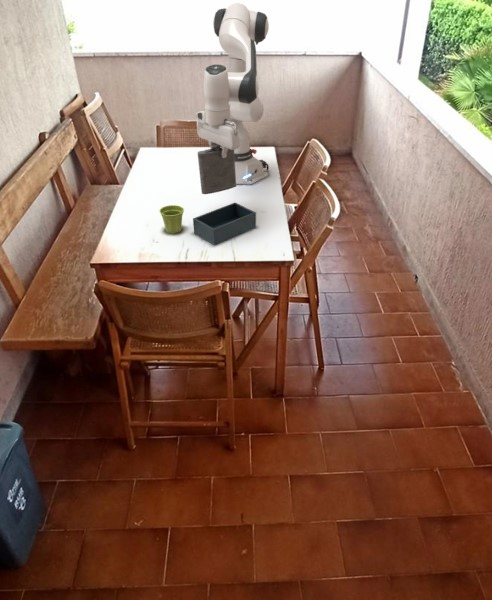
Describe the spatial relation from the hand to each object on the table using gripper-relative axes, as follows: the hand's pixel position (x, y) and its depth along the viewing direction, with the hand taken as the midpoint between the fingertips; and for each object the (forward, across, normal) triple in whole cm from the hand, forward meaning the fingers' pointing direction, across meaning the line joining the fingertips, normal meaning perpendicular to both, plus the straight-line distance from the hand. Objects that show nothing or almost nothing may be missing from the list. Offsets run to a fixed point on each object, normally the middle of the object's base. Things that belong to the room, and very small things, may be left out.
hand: (218, 155), depth 179 cm
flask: (+14, 0, 0) cm, 14 cm away
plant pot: (+29, +10, +16) cm, 35 cm away
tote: (+29, -4, +1) cm, 29 cm away
